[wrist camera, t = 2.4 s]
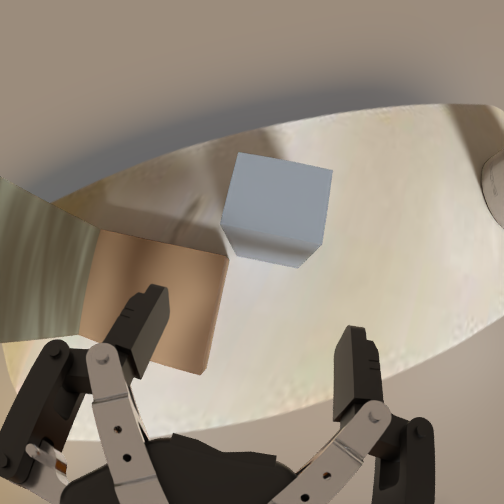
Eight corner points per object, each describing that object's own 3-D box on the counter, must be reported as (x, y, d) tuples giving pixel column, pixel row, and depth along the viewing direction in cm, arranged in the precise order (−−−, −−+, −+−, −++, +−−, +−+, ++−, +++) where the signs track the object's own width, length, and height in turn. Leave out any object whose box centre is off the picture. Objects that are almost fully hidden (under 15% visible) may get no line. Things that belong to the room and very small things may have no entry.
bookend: (229, 260, 24) (185, 201, 10) (206, 368, 23) (138, 444, 9) (103, 233, 25) (-11, 175, 11) (83, 328, 24) (-42, 337, 9)
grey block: (306, 219, 25) (332, 167, 15) (297, 268, 24) (322, 244, 14) (247, 207, 25) (239, 149, 15) (236, 255, 24) (219, 223, 15)
